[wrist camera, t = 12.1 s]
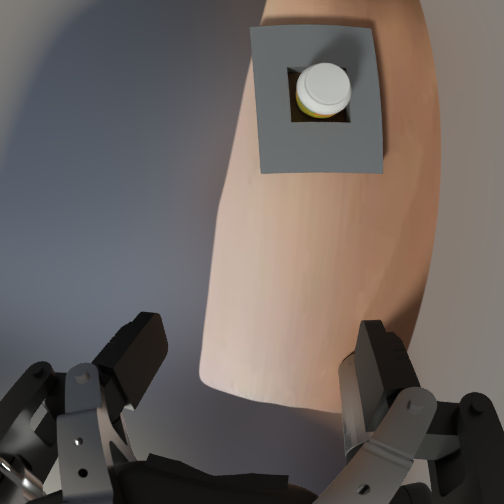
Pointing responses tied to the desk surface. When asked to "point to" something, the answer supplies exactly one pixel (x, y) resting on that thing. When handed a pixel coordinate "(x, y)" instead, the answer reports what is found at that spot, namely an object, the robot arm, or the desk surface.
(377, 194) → the desk surface
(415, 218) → the desk surface
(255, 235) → the desk surface
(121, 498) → the robot arm
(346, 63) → the socket holder
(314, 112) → the supplement bottle
